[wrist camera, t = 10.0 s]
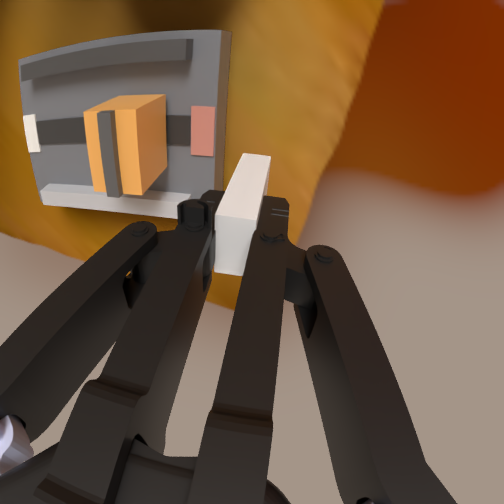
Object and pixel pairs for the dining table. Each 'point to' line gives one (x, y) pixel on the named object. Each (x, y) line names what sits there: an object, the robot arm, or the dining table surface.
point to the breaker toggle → (126, 143)
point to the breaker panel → (129, 83)
